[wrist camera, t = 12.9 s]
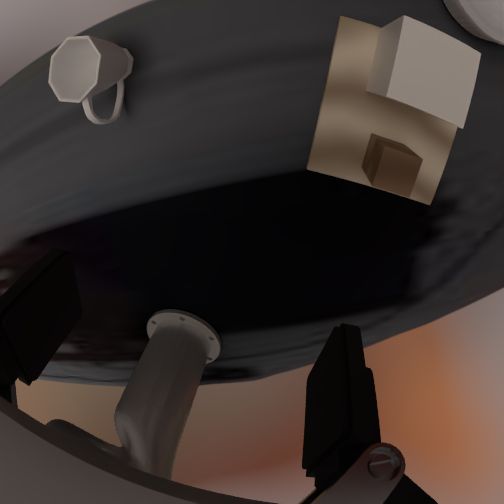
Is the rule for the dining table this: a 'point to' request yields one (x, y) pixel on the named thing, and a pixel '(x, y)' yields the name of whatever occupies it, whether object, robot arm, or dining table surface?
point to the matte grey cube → (424, 70)
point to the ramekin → (480, 17)
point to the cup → (89, 72)
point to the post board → (374, 126)
